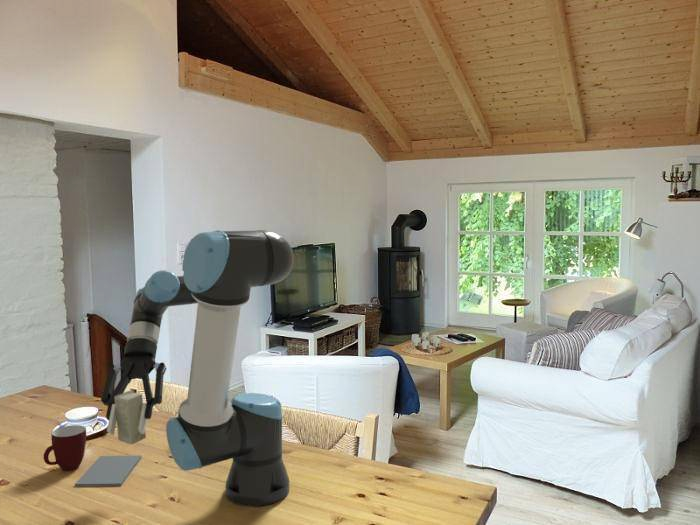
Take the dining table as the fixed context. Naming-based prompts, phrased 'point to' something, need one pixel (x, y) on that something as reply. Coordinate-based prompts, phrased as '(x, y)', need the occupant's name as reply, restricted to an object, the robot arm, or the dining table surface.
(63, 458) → the mug
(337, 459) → the dining table surface
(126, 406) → the box
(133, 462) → the mat
